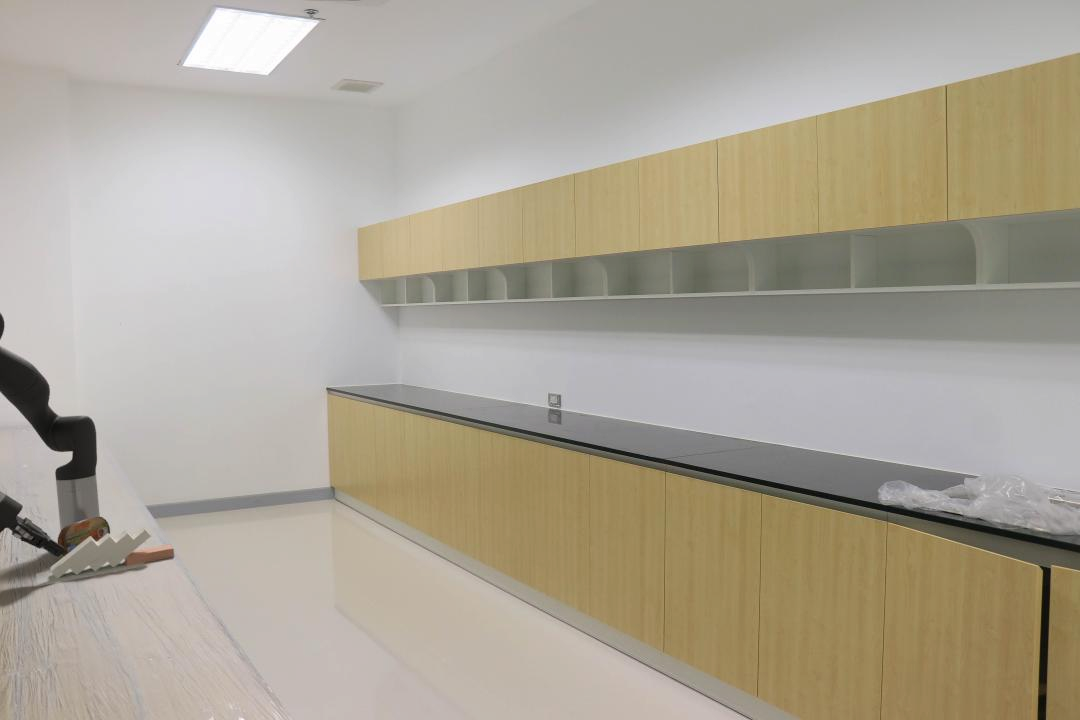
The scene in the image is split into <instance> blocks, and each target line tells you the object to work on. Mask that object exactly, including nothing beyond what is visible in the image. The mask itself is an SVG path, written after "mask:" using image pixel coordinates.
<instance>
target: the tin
mask: <svg viewBox="0 0 1080 720" xmlns="http://www.w3.org/2000/svg"><path fill="white" fill-rule="evenodd" d="M107 533H109V534H110V535H111V527H110V525H109V522H108V520H106V518H104V517H102V516H100V517H93V518H88V519H85V520H82V521H79V522H77V523H74V524H71V525H68V526H66V527H64V528H63V529H62V530H61V531H59V534H58V537H57V543H58V544H60V545H61V546H63V547H64V549H65V550H64V552H63V553H62V554H61V555H60V556H62V558H63V557H64V556H66V555H67V554H68V553H69V552H71V551H72V550H73V549H74V548H76V547H77V546H78V545H79V544H81V543H82V542H83V541H84V540H86V539H87V538H88V537H90V536H91V537H92V538H93V539H94V540H95V541H96V542H97V541H98V540H100V539H101V538H102V537H103V536H105V535H106V534H107Z"/></svg>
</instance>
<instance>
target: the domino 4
mask: <svg viewBox="0 0 1080 720" xmlns="http://www.w3.org/2000/svg"><path fill="white" fill-rule="evenodd" d="M130 535H131V534H130ZM131 536H132V538H133V539H134V540H133V541H132V542H130V543H129V544H128V545H127V546H125V547H124V548H123V549H122V550H121V551H119V552H118V553H117V554H116V555H115V556H113V557H112V558H111V559H110V560H109V561H107V562H108V563H109V564H110V565H111V566H112V567H113V568H114V567H115V566H116V565H117V564H118V563H120V562H121V561H122V560H123V559H124V558H126V557H127V556H128V555H129V554H130V553H132V552H133V551H136V550H137V549H138V548H139V547H140V546H141V545H142V544H144V543H145V542H146V541H147V540H149V539H150V538H152V535H151V533H150V532H149V531H148V529H146V528H145V527H144V526H143V525H142V526H141V527H140V528H138V530H136V531H135V532H134V533H133V534H132V535H131Z"/></svg>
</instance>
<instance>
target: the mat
mask: <svg viewBox="0 0 1080 720" xmlns="http://www.w3.org/2000/svg"><path fill="white" fill-rule="evenodd" d="M141 567H142V568H143V567H146V565H145V562H144V563H138V564H133V565H128V566H127V565H126V563H125V558H124V559H123V560H122V561H121V562H120V563H118V564H117V565H116V566H115V567H114V568H113V567H112V566H111V565H110V564H109V563H108V562H106V563H105V564H104V565H103V566H101V567H100V568H99V569H98V570H97V571H94V570H93V569H92V568H91V567H90V566H89V565H88V566H87V567H86V568H85V569H84V570H82V571H81V572H80V573H79V574H77V575H76V574H75V573H74V572H73V571H72V570H71V569H69V570H68V571H67V572H65V573H64V574H63V575H62V576H60V577H59V578H58V579H57V578H56V577H55V576H54V575H53V574H52V573H51V570H49V571H44V572H40V573H36V587H41V586H47V585H54V584H58V583H63V582H68V581H74V580H79V579H83V578H84V579H85V578H90V577H95V576H100V575H105V574H110V573H115V572H121V571H126V570H132V569H137V568H141Z"/></svg>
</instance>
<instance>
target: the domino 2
mask: <svg viewBox="0 0 1080 720" xmlns="http://www.w3.org/2000/svg"><path fill="white" fill-rule="evenodd" d="M114 539H115V538H114V537H113V536H112V535H111V533H110V534H109V533H107V534H106V535H105V536H103V537H102V538H101V539H100V540H98V541H97V545H98V547H97V548H95V549H94V550H93V551H92V552H90V553H89V554H88V555H87V556H85V557H84V558H83V559H82V560H80V561H79V562H78V563H77V564H75V565H74V566H73V567H72V568H70V569H71V570H72V571H73V572H74V573H75V574H76V575H77V574H79V573H80V572H81V571H82V570H84V569H85V568H86V567H87V566H88V565H90V564H91V563H92V562H93V561H95V560H96V559H97V558H98V557H99V556H101V555H102V554H103V553H104V552H106V551H107V550H108V549H109V548H110V547H112V546H113V545H114V544H115V543H116V542H115V540H114Z"/></svg>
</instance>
